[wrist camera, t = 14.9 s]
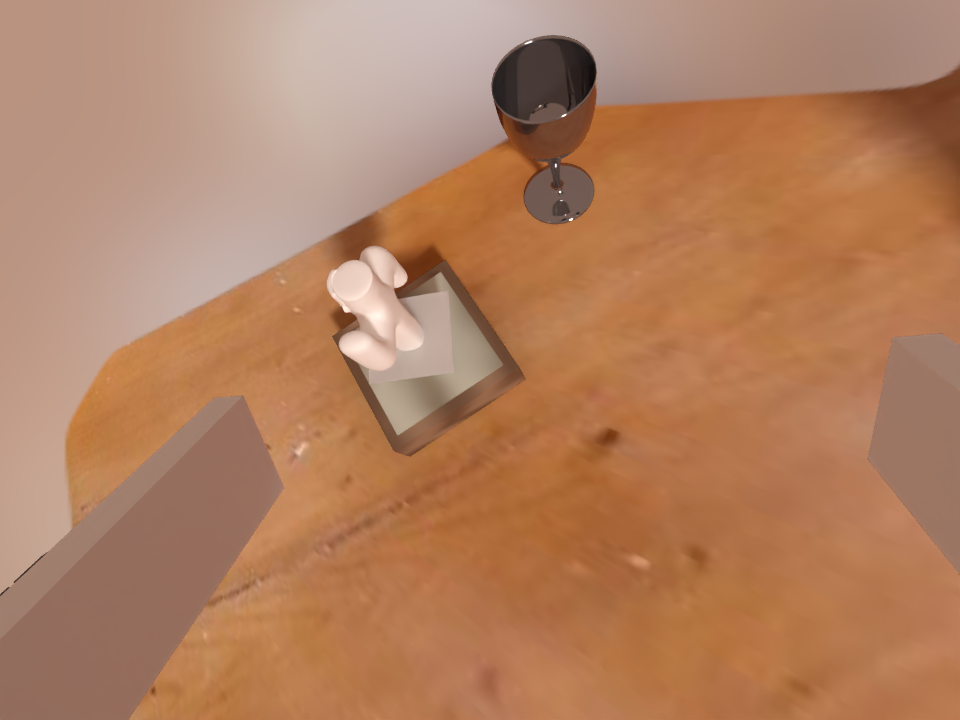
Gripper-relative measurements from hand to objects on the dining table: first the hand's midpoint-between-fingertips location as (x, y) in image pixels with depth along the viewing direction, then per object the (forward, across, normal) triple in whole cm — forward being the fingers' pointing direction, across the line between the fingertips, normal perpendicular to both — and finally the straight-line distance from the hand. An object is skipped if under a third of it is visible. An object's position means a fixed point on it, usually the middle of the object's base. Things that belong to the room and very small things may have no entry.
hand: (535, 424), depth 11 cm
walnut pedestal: (+34, -14, -16) cm, 40 cm away
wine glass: (+46, 0, -4) cm, 47 cm away
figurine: (+31, -13, -13) cm, 37 cm away
